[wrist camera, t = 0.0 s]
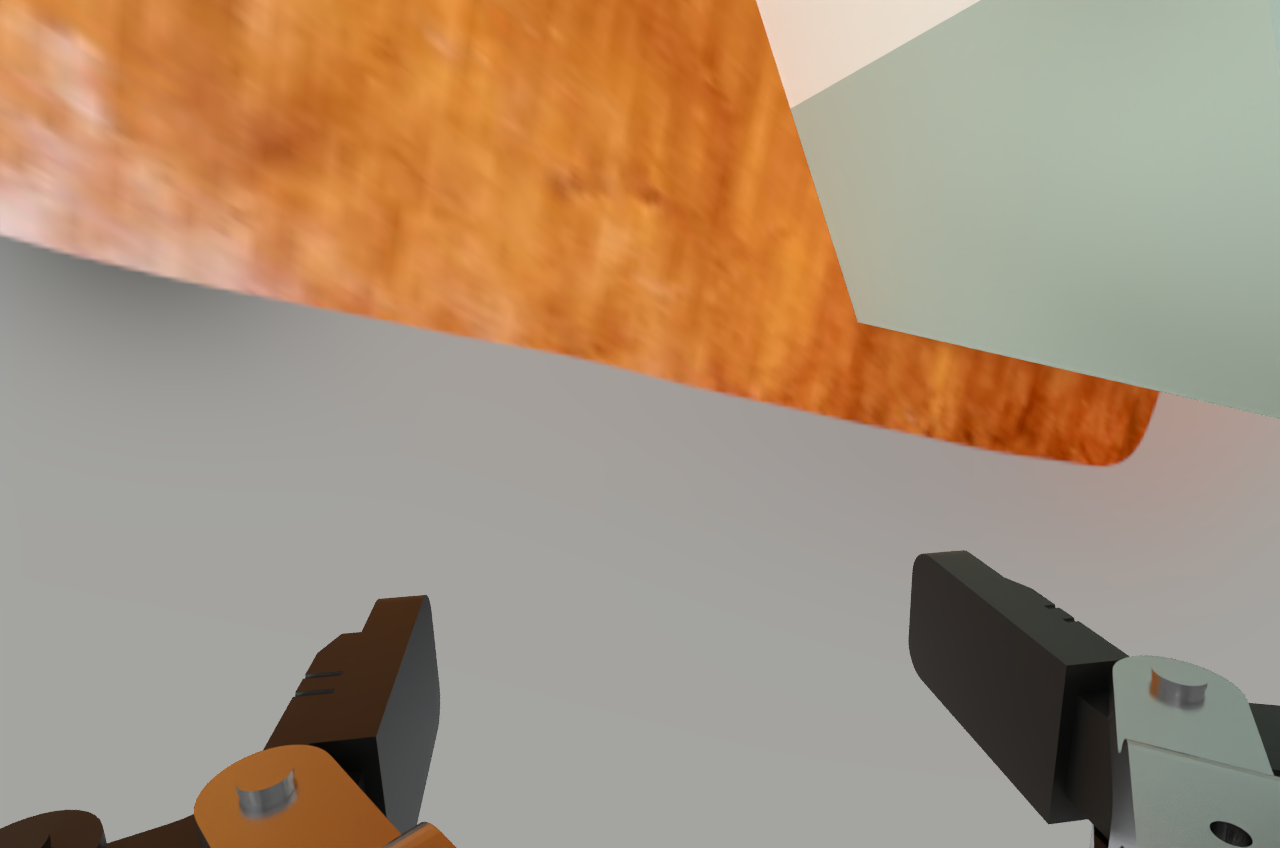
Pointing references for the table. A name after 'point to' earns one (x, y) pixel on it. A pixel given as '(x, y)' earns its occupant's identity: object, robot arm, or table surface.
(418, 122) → the table surface
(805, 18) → the stepped stand
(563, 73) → the table surface
